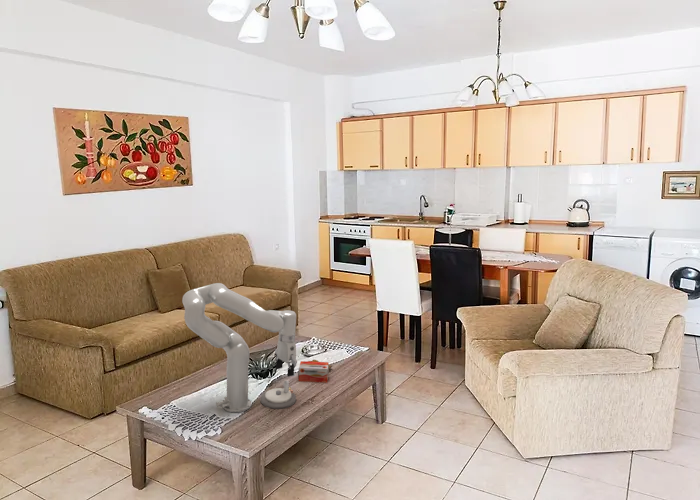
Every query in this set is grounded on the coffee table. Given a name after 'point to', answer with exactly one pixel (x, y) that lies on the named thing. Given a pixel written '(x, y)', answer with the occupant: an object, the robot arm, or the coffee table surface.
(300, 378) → the medicine box
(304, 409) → the coffee table surface
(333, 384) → the coffee table surface
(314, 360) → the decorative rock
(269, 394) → the dial disc
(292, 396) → the dial base
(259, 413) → the coffee table surface
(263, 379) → the coffee table surface
